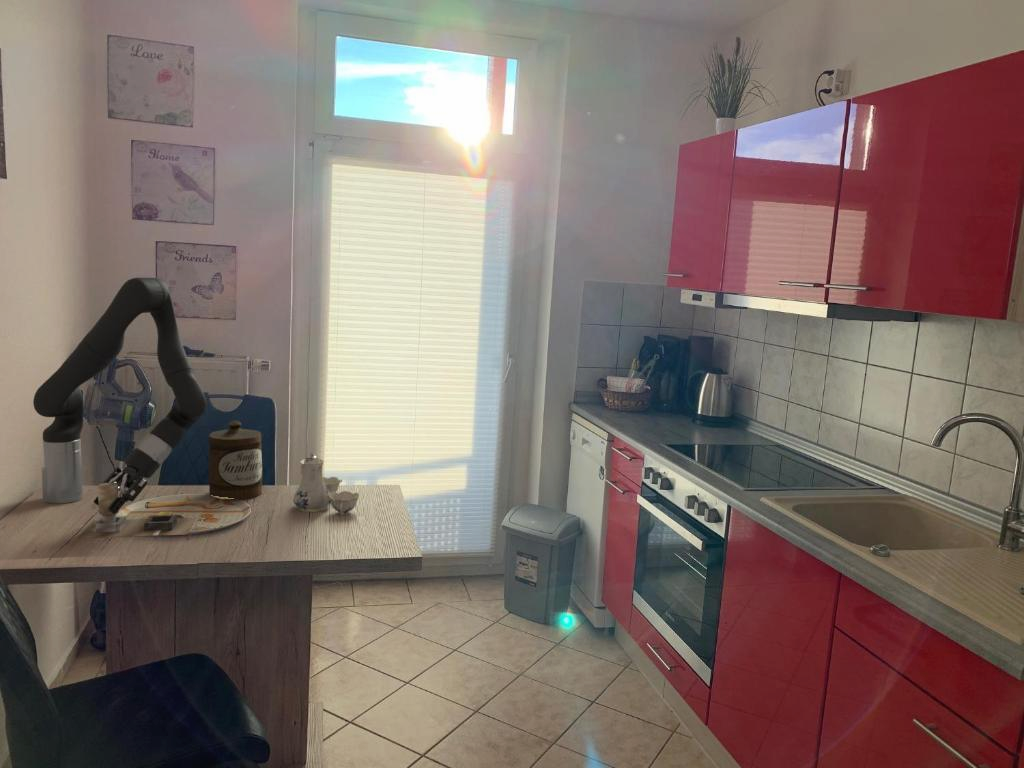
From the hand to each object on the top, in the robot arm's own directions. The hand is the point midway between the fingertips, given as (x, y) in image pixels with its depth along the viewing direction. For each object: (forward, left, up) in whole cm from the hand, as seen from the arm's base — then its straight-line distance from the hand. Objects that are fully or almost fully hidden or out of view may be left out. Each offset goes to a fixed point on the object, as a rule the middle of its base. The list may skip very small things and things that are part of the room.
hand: (103, 508), depth 200 cm
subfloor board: (+8, +1, -7) cm, 11 cm away
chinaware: (+52, +20, -7) cm, 56 cm away
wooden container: (+27, +36, -7) cm, 45 cm away
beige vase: (+1, +1, -5) cm, 6 cm away
